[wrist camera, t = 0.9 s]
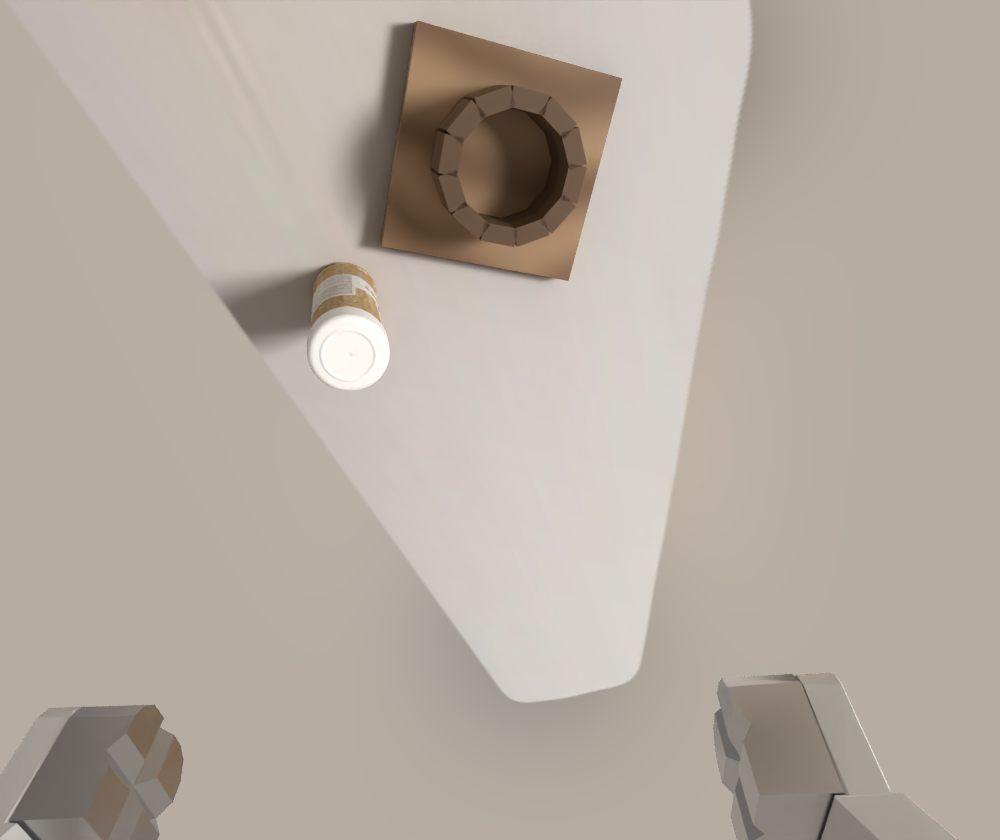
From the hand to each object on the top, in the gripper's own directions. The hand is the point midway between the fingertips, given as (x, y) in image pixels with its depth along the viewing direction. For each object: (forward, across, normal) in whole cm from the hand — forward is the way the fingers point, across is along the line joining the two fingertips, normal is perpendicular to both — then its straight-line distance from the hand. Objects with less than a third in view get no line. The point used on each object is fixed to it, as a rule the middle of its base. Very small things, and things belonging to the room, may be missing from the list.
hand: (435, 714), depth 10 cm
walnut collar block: (+45, 0, +3) cm, 45 cm away
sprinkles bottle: (+41, +12, +10) cm, 44 cm away
